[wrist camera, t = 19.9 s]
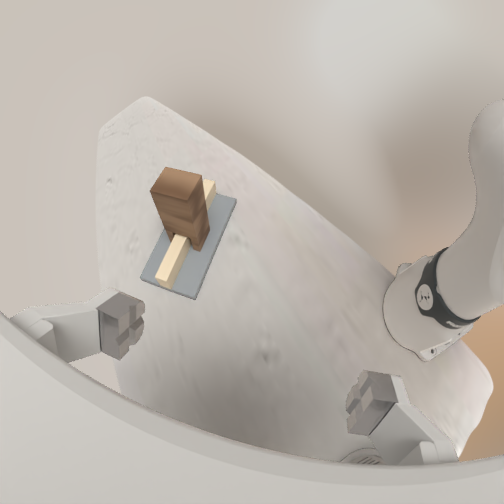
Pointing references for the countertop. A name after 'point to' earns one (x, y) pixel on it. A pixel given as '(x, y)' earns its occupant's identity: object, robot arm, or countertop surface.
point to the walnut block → (182, 205)
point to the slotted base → (189, 250)
